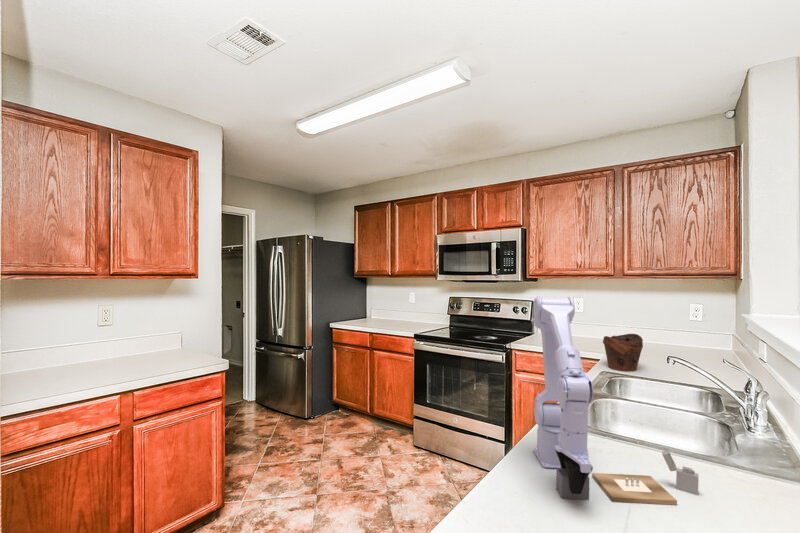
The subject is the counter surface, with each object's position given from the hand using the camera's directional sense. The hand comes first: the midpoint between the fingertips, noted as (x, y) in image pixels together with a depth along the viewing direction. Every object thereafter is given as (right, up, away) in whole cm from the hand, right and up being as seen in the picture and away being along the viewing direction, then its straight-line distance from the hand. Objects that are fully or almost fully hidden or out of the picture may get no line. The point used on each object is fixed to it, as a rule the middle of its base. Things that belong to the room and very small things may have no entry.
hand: (572, 487), depth 89 cm
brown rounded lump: (+76, -3, +112) cm, 135 cm away
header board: (+15, -2, +2) cm, 15 cm away
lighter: (+27, -2, +4) cm, 28 cm away
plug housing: (0, -2, 0) cm, 2 cm away
